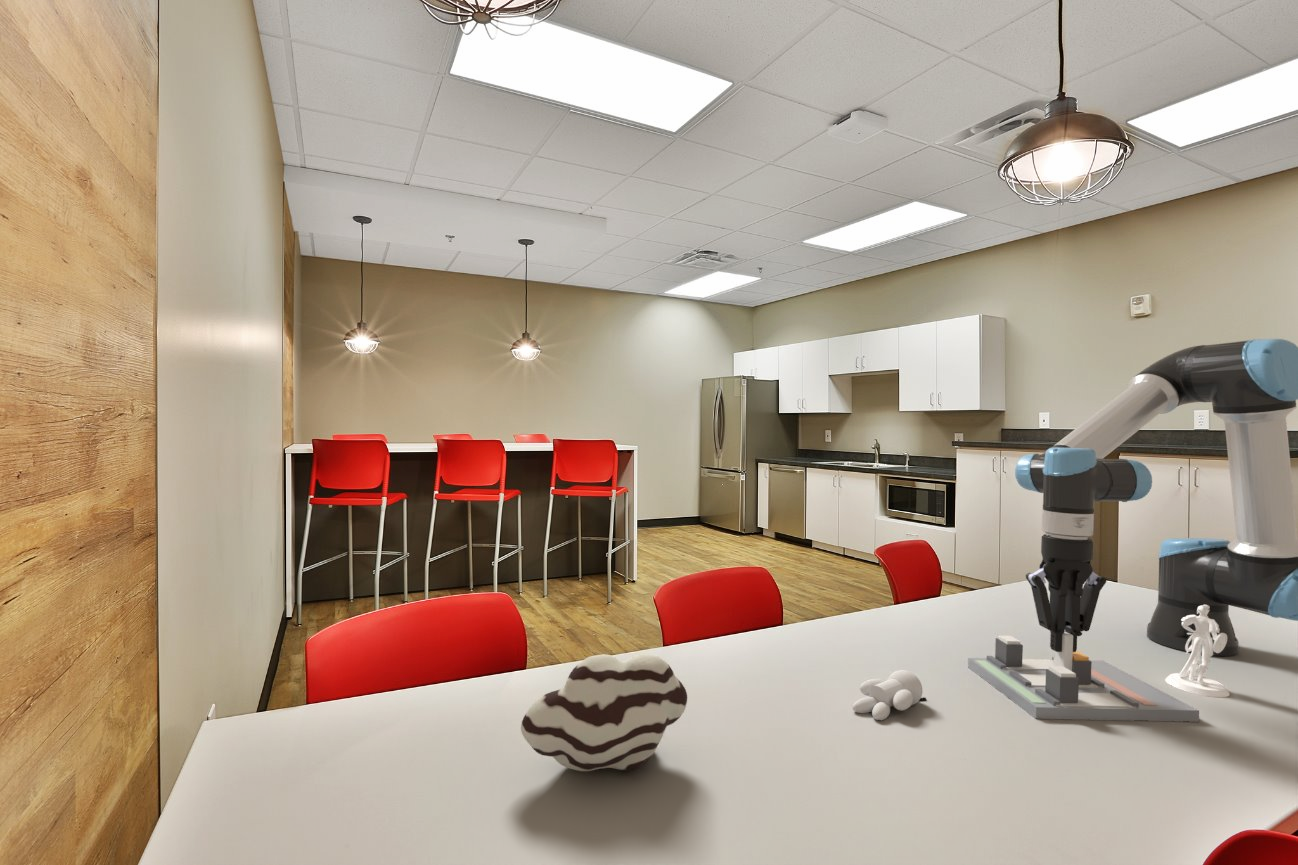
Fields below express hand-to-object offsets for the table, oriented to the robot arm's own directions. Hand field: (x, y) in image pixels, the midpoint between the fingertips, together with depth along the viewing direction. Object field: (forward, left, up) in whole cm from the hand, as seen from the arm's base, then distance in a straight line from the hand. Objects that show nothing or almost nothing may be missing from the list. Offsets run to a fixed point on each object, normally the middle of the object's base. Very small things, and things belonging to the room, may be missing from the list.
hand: (1062, 669), depth 110 cm
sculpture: (+78, +28, -4) cm, 83 cm away
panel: (-2, 0, -4) cm, 4 cm away
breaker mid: (-2, 0, -2) cm, 3 cm away
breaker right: (+5, +8, -2) cm, 9 cm away
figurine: (-27, -3, -4) cm, 27 cm away
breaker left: (+5, -7, -2) cm, 9 cm away
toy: (+33, +7, -5) cm, 34 cm away
